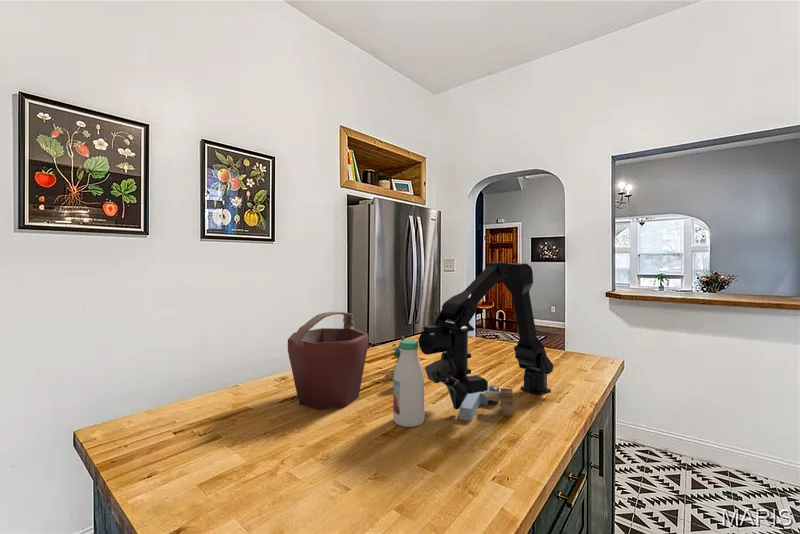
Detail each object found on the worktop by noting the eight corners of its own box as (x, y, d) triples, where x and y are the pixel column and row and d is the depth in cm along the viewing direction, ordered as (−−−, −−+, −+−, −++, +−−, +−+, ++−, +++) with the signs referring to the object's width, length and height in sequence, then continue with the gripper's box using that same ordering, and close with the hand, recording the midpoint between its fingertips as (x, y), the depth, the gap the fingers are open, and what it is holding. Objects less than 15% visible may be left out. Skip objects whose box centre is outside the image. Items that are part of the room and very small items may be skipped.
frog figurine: (432, 373, 136) (429, 332, 135) (392, 389, 125) (388, 345, 124) (414, 366, 144) (411, 328, 142) (375, 382, 132) (371, 340, 131)
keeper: (485, 408, 103) (485, 386, 103) (512, 410, 102) (512, 388, 102) (484, 414, 99) (484, 391, 99) (512, 416, 98) (513, 393, 98)
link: (467, 393, 115) (467, 383, 115) (491, 396, 112) (491, 386, 112) (451, 417, 97) (451, 406, 97) (479, 422, 95) (479, 410, 95)
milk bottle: (428, 417, 98) (427, 339, 97) (419, 429, 91) (419, 345, 90) (399, 413, 100) (399, 337, 100) (389, 425, 93) (388, 343, 93)
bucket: (342, 380, 128) (341, 305, 127) (387, 397, 112) (386, 312, 111) (272, 400, 110) (271, 313, 110) (314, 423, 95) (313, 322, 94)
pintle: (494, 399, 109) (494, 385, 109) (501, 403, 107) (501, 388, 107) (486, 401, 108) (486, 386, 108) (493, 405, 106) (493, 389, 106)
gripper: (412, 345, 104) (412, 401, 105) (450, 361, 87) (450, 429, 88) (446, 341, 109) (446, 395, 109) (489, 356, 92) (489, 420, 93)
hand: (456, 408), depth 100 cm, fingers closed
